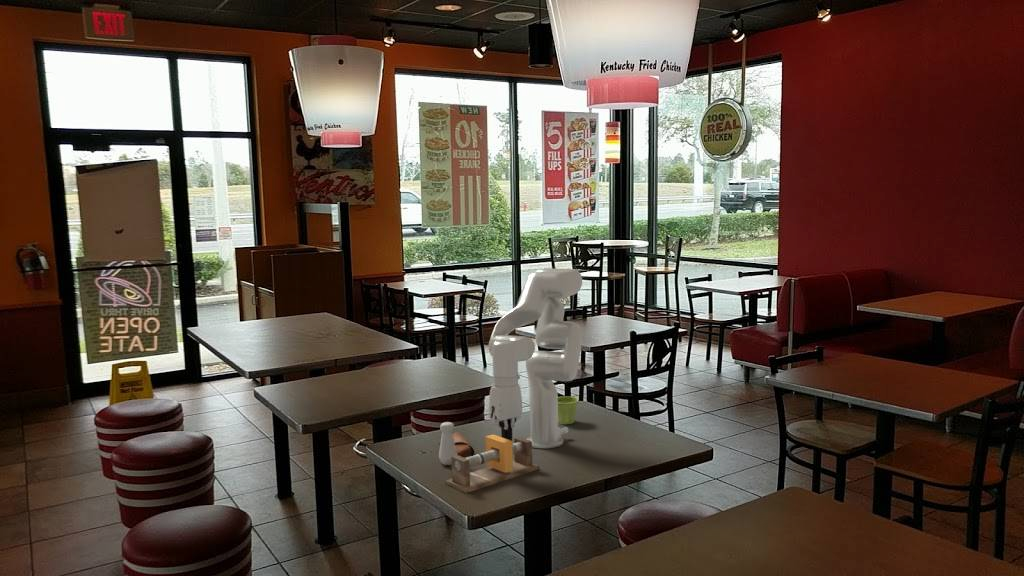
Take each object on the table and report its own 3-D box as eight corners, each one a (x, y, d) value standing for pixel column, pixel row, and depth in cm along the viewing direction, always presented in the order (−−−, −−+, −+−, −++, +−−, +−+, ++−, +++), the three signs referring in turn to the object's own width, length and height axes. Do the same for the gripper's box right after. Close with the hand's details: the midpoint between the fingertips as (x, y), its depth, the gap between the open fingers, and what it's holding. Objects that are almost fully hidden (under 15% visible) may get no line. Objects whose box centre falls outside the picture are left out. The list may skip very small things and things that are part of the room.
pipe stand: (517, 460, 236) (517, 434, 235) (539, 468, 228) (538, 441, 227) (445, 483, 218) (444, 455, 217) (466, 493, 210) (465, 464, 209)
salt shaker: (454, 466, 232) (453, 426, 231) (436, 465, 233) (435, 425, 232) (459, 460, 238) (458, 420, 236) (442, 459, 239) (440, 420, 238)
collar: (494, 462, 229) (493, 434, 228) (513, 470, 222) (512, 440, 221) (486, 465, 227) (485, 436, 226) (505, 472, 220) (504, 443, 219)
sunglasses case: (436, 442, 256) (445, 425, 257) (453, 450, 259) (462, 433, 259) (449, 458, 239) (459, 440, 240) (468, 467, 242) (477, 448, 242)
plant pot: (571, 427, 270) (571, 404, 269) (548, 424, 274) (548, 401, 273) (583, 420, 278) (582, 398, 277) (560, 417, 282) (559, 395, 281)
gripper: (516, 375, 231) (517, 433, 233) (478, 383, 222) (480, 443, 224) (532, 379, 226) (533, 438, 228) (494, 387, 216) (495, 449, 218)
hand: (507, 440), depth 226 cm, fingers closed
